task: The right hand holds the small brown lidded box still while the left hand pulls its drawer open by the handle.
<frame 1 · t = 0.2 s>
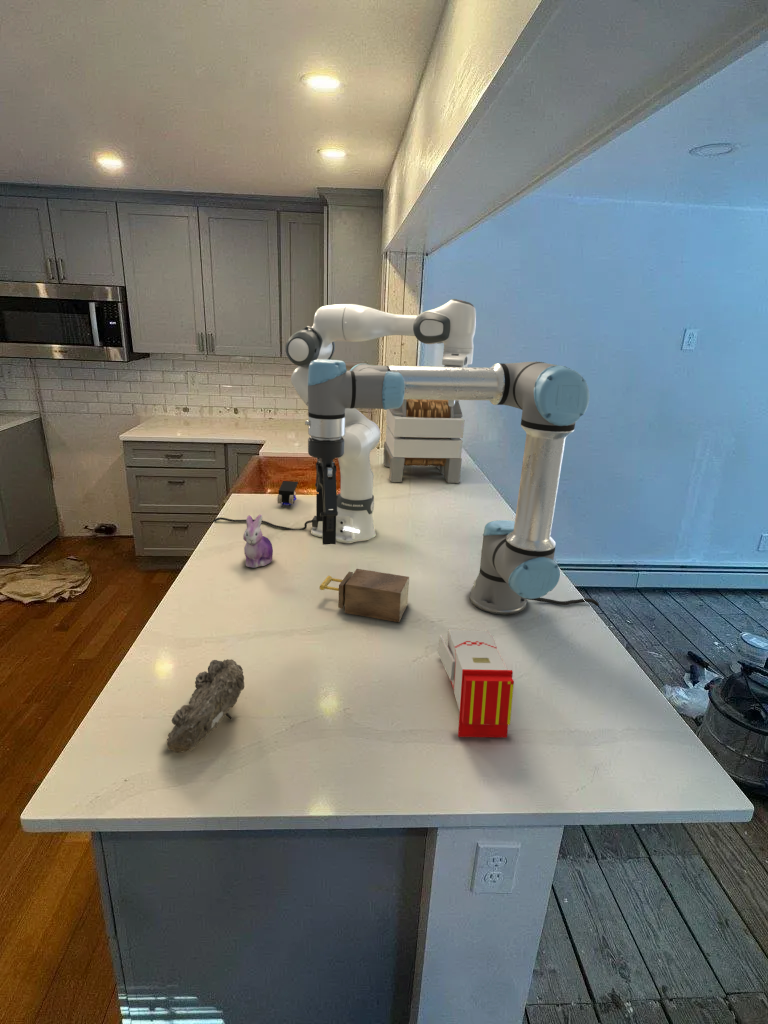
left hand: (453, 403, 174), 48 cm above the counter, tool pointing down, fingers open, 8 cm apart
right hand: (325, 531, 125), 28 cm above the counter, tool pointing down, fingers open, 13 cm apart
drawer: (357, 591, 149), point 4 cm above the counter, slide at 0.8 cm
brown lidded box: (376, 608, 150), on the counter
figurine character: (288, 503, 225), on the counter
toy: (469, 691, 119), on the counter
transformer: (419, 473, 275), on the counter
figurine: (258, 562, 173), on the counter
fossil: (212, 717, 108), on the counter
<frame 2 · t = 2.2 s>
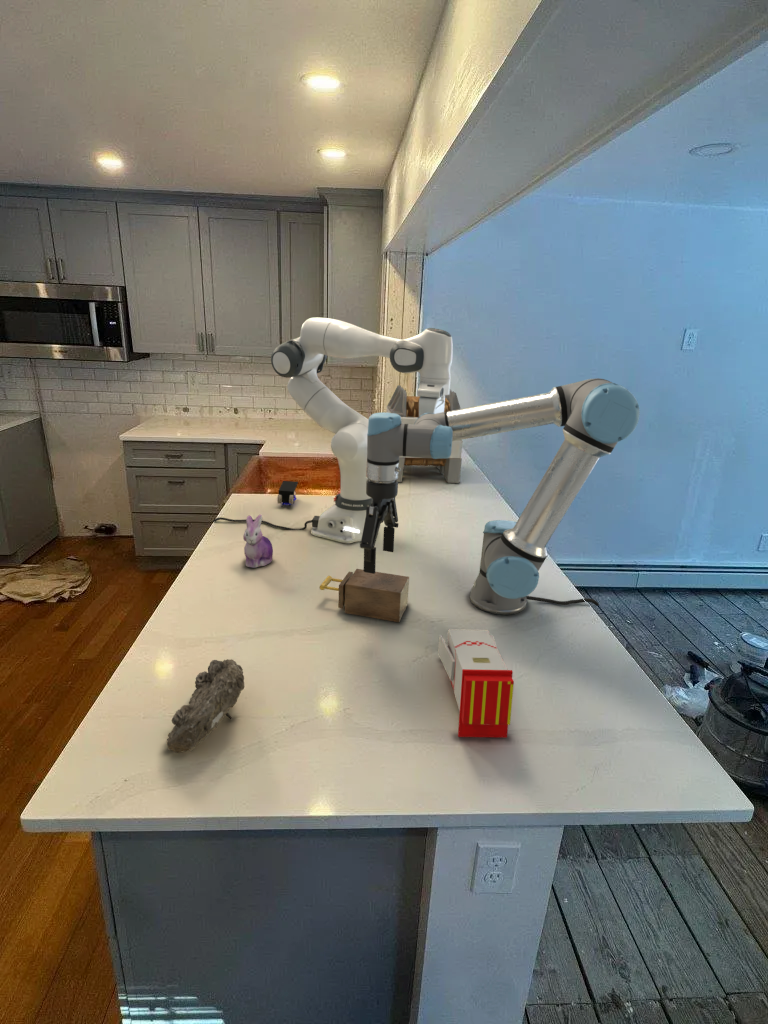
left hand: (430, 434, 169), 40 cm above the counter, tool pointing down, fingers open, 8 cm apart
right hand: (379, 561, 141), 15 cm above the counter, tool pointing down, fingers open, 13 cm apart
nothing on the counter moved.
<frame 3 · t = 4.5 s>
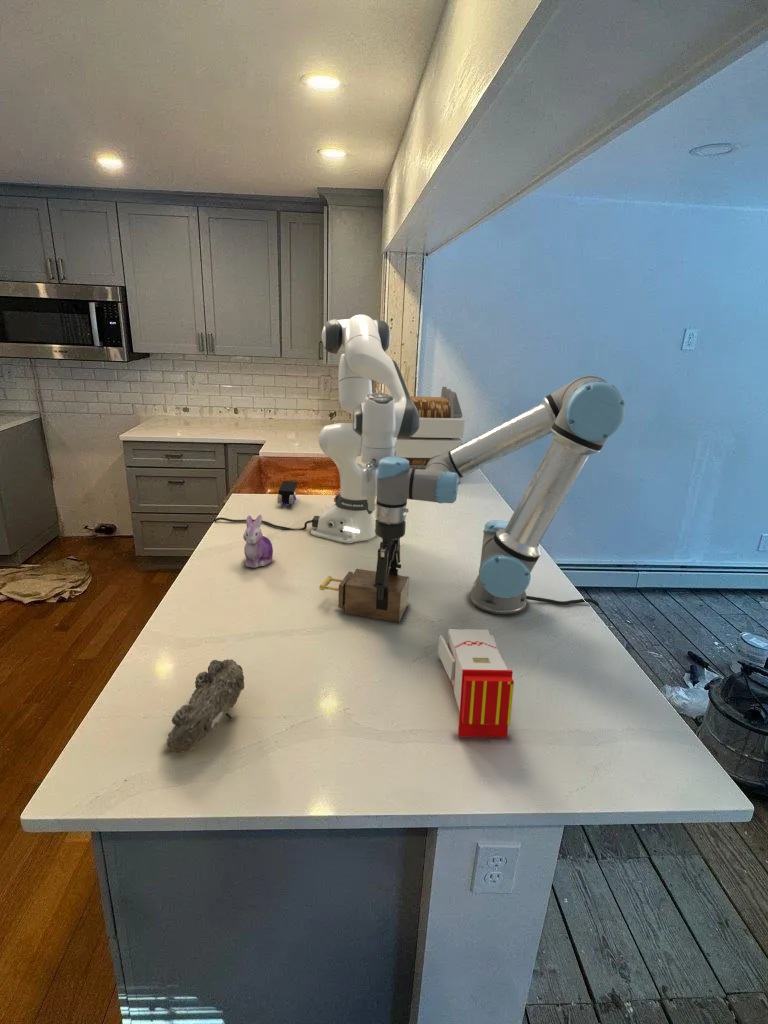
left hand: (376, 504, 156), 24 cm above the counter, tool pointing down, fingers open, 8 cm apart
right hand: (386, 599, 148), 3 cm above the counter, tool pointing down, fingers closed on brown lidded box, 10 cm apart
brown lidded box: (376, 608, 150), on the counter, touching right hand
everything else where it was.
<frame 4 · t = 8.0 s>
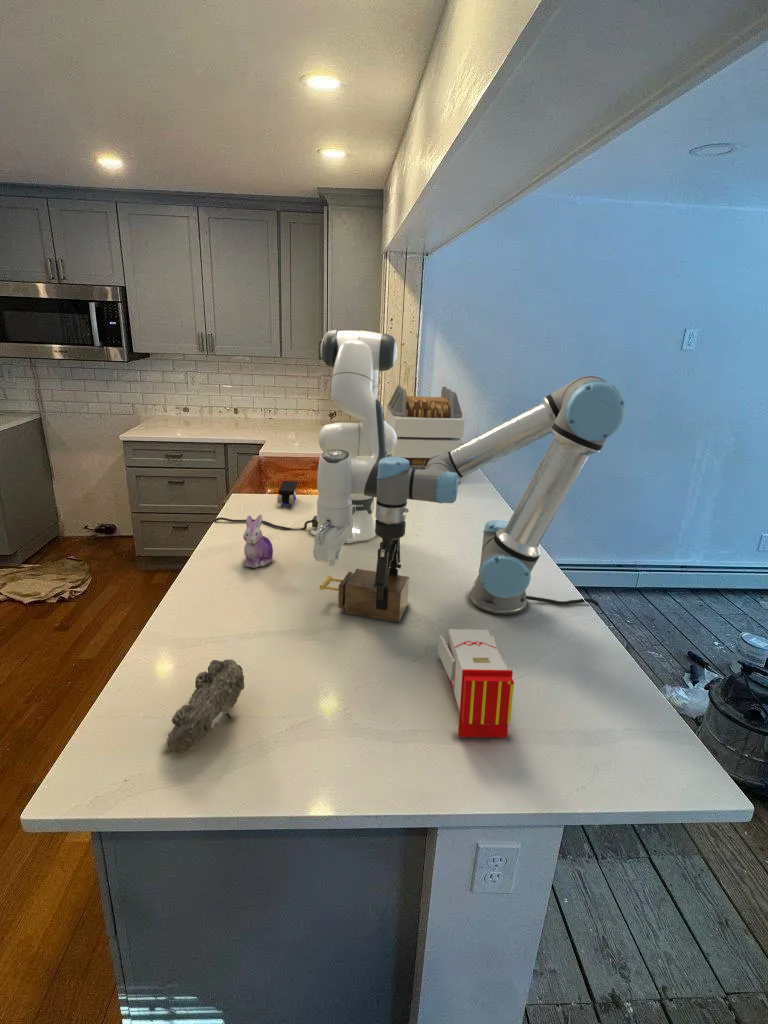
left hand: (333, 564, 148), 11 cm above the counter, tool pointing down, fingers closed
right hand: (386, 599, 148), 3 cm above the counter, tool pointing down, fingers closed on brown lidded box, 10 cm apart
brown lidded box: (376, 608, 150), on the counter, touching right hand
everything else where it was.
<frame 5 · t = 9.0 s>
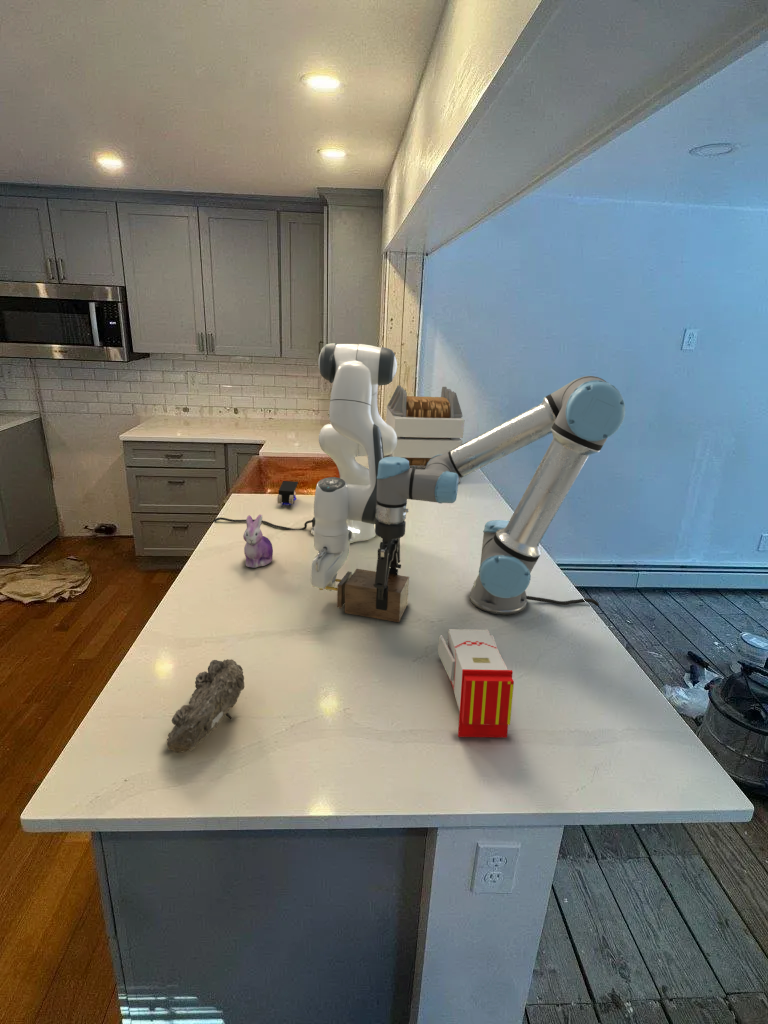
left hand: (330, 588, 151), 4 cm above the counter, tool pointing down, fingers closed, pressing on drawer
right hand: (386, 599, 148), 3 cm above the counter, tool pointing down, fingers closed on brown lidded box, 10 cm apart
drawer: (356, 591, 149), point 4 cm above the counter, slide at 1.1 cm, touching left hand
brown lidded box: (376, 608, 150), on the counter, touching right hand
everything else where it was.
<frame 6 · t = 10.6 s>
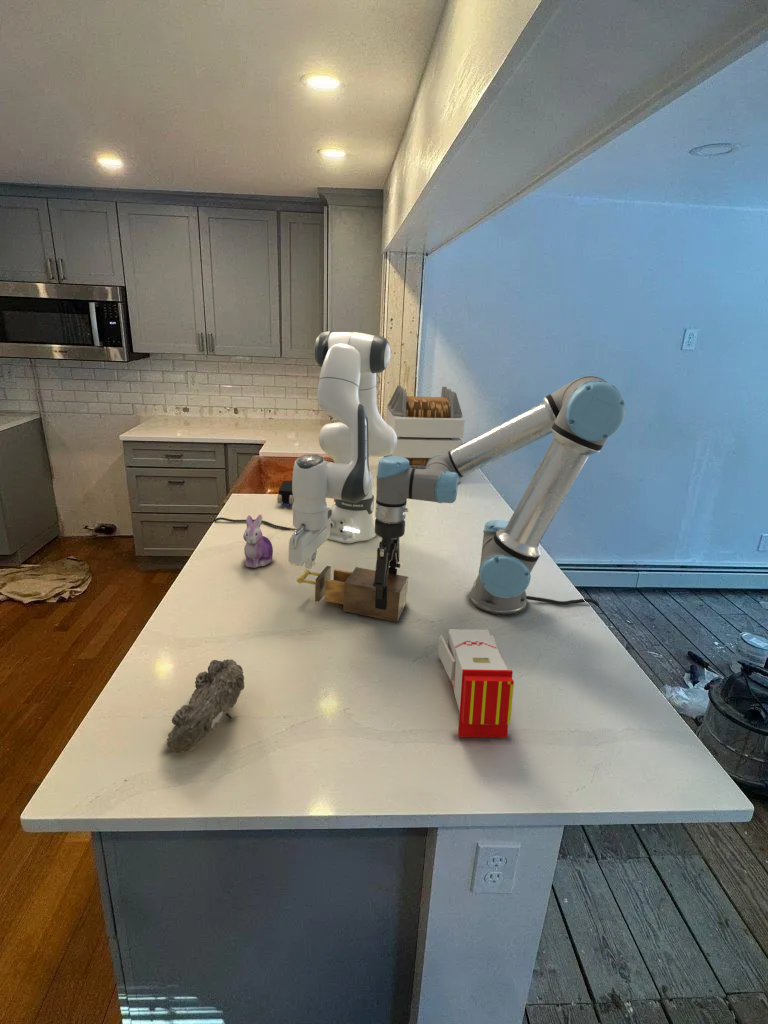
left hand: (310, 566, 151), 9 cm above the counter, tool pointing down, fingers closed
right hand: (385, 599, 148), 3 cm above the counter, tool pointing down, fingers closed on brown lidded box, 10 cm apart
drawer: (334, 585, 151), point 5 cm above the counter, slide at 6.9 cm
brown lidded box: (374, 607, 150), on the counter, touching right hand
everything else where it was.
when the right hand's fingers open (3 cm above the counter, at t = 11.9 s): brown lidded box stays where it is, on the counter.
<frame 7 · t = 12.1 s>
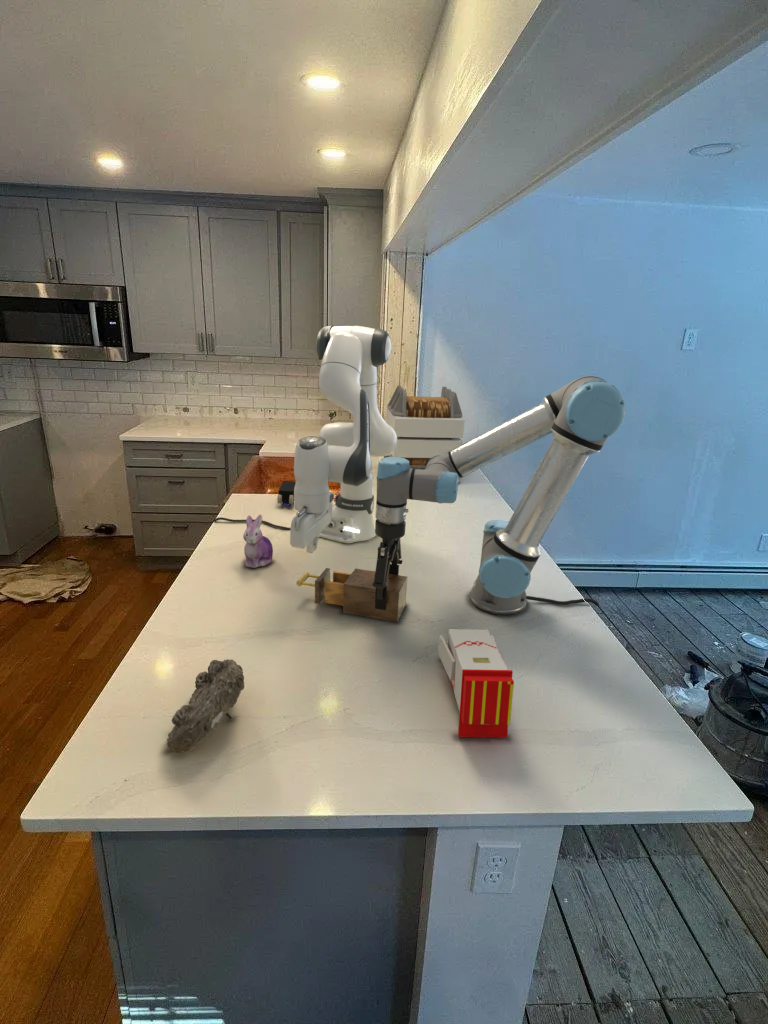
left hand: (311, 551, 149), 14 cm above the counter, tool pointing down, fingers closed
right hand: (386, 597, 148), 4 cm above the counter, tool pointing down, fingers open, 12 cm apart
brown lidded box: (375, 608, 150), on the counter
everything else where it was.
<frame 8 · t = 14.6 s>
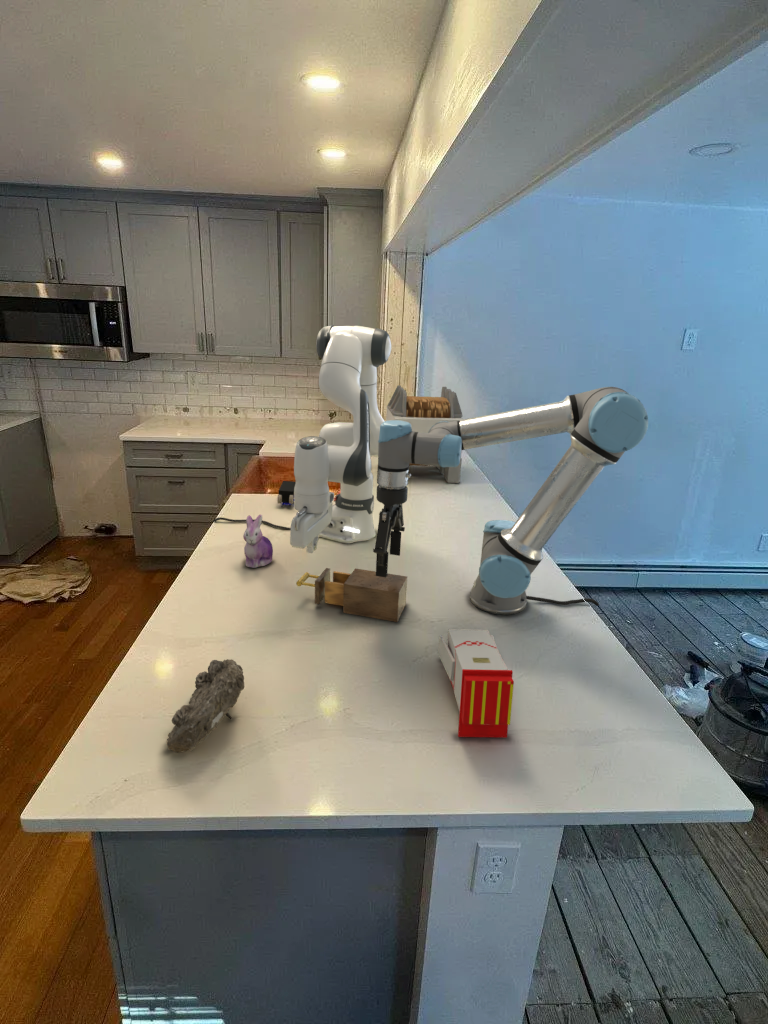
left hand: (311, 551, 149), 14 cm above the counter, tool pointing down, fingers closed
right hand: (388, 565, 144), 13 cm above the counter, tool pointing down, fingers open, 13 cm apart
nothing on the counter moved.
at the end: drawer slide at 6.9 cm; brown lidded box tilted 0°; brown lidded box never tilted more than 2° during the clip; brown lidded box moved 0.5 cm from its start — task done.
